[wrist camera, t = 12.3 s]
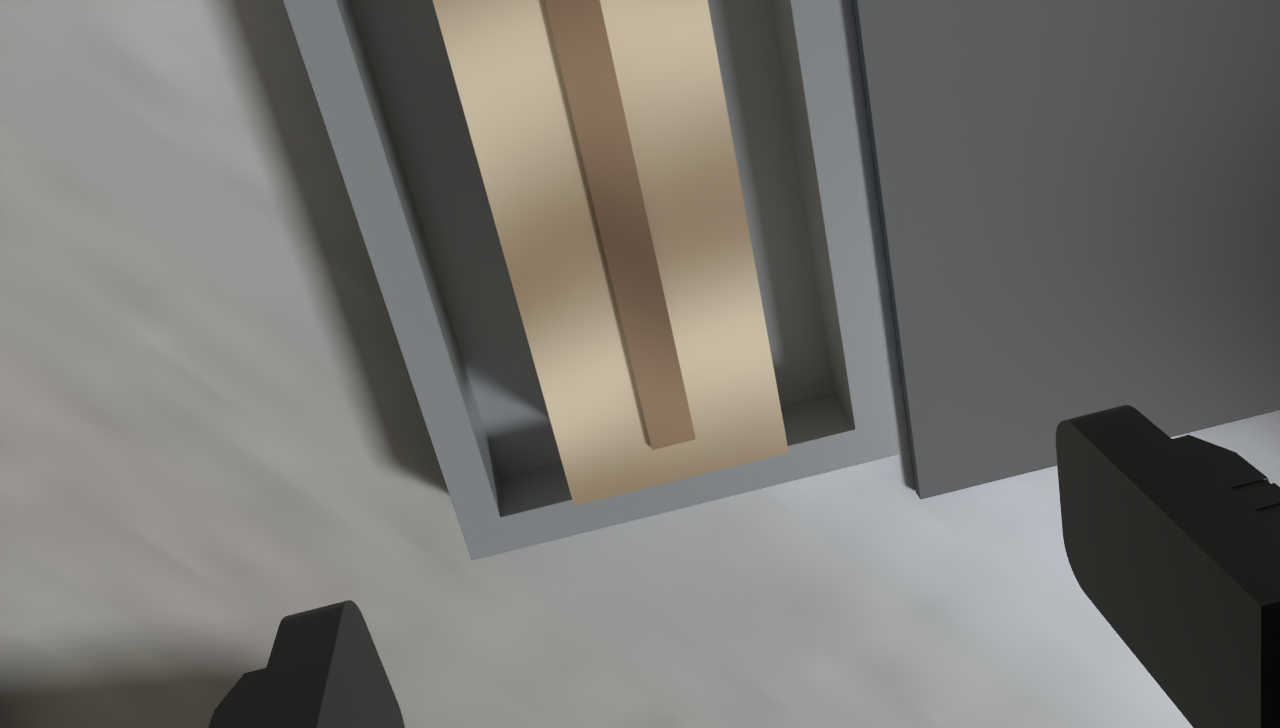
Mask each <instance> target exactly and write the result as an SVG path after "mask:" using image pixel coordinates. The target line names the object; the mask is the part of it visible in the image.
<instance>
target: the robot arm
mask: <svg viewBox="0 0 1280 728" xmlns="http://www.w3.org/2000/svg"><path fill="white" fill-rule="evenodd" d="M1056 454H1057V466H1058V478H1059V491H1060V503H1061V515H1062V527H1063V538H1064V544H1065V549H1066V553H1067V556H1068V560H1069V563H1070V565H1071V568H1072V571H1073V573H1074V575H1075V577H1076V579H1077V581H1078V583H1079V585H1080V587H1081V588H1082V590H1083V591H1084V593H1085V594H1086V595H1087V596H1088V598H1089V599H1090V600H1091V601H1092V603H1093V604H1094V605H1095V606H1096V608H1097V609H1098V610H1099V611H1100V613H1101V614H1102V615H1103V616H1104V617H1105V619H1106V620H1107V621H1108V622H1109V624H1110V625H1111V626H1112V627H1113V629H1114V630H1115V631H1116V632H1117V634H1118V635H1119V636H1120V637H1121V638H1122V640H1123V641H1124V642H1125V643H1126V645H1127V646H1128V647H1129V648H1130V650H1131V651H1132V652H1133V653H1134V655H1135V656H1136V657H1137V658H1138V659H1139V661H1140V662H1141V663H1142V664H1143V666H1144V667H1145V668H1146V669H1147V671H1148V672H1149V673H1150V674H1151V676H1152V677H1153V678H1154V679H1155V680H1156V682H1157V683H1158V684H1159V685H1160V687H1161V688H1162V689H1163V690H1164V692H1165V693H1166V694H1167V695H1168V697H1169V698H1170V699H1171V700H1172V701H1173V703H1174V704H1175V705H1176V706H1177V708H1178V709H1179V710H1180V711H1181V713H1182V714H1183V715H1184V716H1185V718H1186V719H1187V720H1188V721H1189V723H1190V724H1191V725H1192V726H1193V727H1194V728H1280V487H1279V486H1277V485H1276V484H1275V483H1273V484H1270V483H1269V481H1268V478H1267V477H1266V476H1265V475H1263V474H1262V473H1261V472H1260V471H1258V470H1257V469H1256V468H1255V467H1253V466H1252V465H1251V464H1249V463H1248V462H1247V461H1246V460H1244V459H1243V458H1242V457H1241V456H1239V455H1238V454H1237V453H1236V452H1233V451H1230V450H1228V449H1225V448H1222V447H1220V446H1217V445H1214V444H1212V443H1209V442H1206V441H1204V440H1201V439H1198V438H1196V437H1193V436H1190V435H1187V436H1183V437H1179V438H1175V439H1171V438H1170V437H1169V436H1168V435H1166V434H1165V433H1164V432H1163V431H1162V430H1160V429H1159V428H1158V427H1157V426H1156V425H1154V424H1153V423H1152V422H1151V421H1150V420H1149V419H1147V418H1146V417H1145V416H1144V415H1143V414H1141V413H1140V412H1139V411H1138V410H1137V409H1135V408H1134V407H1132V406H1130V405H1122V406H1119V407H1115V408H1111V409H1107V410H1103V411H1099V412H1095V413H1091V414H1087V415H1083V416H1079V417H1075V418H1071V419H1067V420H1063V421H1061V422H1060V423H1059V424H1058V426H1057V430H1056ZM209 728H405V727H404V722H403V718H402V714H401V711H400V708H399V705H398V702H397V700H396V697H395V695H394V692H393V690H392V687H391V685H390V682H389V680H388V677H387V675H386V672H385V670H384V667H383V665H382V663H381V660H380V658H379V655H378V653H377V650H376V648H375V645H374V643H373V640H372V638H371V635H370V633H369V630H368V628H367V625H366V623H365V620H364V618H363V616H362V613H361V612H360V610H359V608H358V607H357V605H356V604H355V603H354V602H353V601H351V600H348V601H344V602H340V603H336V604H332V605H328V606H324V607H320V608H317V609H313V610H309V611H305V612H301V613H297V614H293V615H289V616H286V617H284V618H283V619H282V621H281V623H280V625H279V628H278V632H277V635H276V638H275V641H274V645H273V648H272V651H271V655H270V658H269V661H268V664H267V668H264V669H260V670H256V671H252V672H248V673H244V675H243V676H242V677H241V678H240V680H239V681H238V682H237V683H236V685H235V686H234V687H233V688H232V689H231V691H230V692H229V693H228V694H227V696H226V697H225V698H224V699H223V701H222V702H221V703H220V704H219V706H218V707H217V708H216V709H215V710H214V713H213V716H212V719H211V722H210V725H209Z"/></svg>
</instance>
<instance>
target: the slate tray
mask: <svg viewBox="0 0 1280 728" xmlns="http://www.w3.org/2000/svg"><path fill="white" fill-rule="evenodd" d="M283 1H284V4H285V7H286V10H287V13H288V16H289V19H290V22H291V25H292V28H293V31H294V34H295V37H296V40H297V43H298V46H299V49H300V52H301V55H302V58H303V61H304V64H305V67H306V69H307V72H308V75H309V78H310V81H311V84H312V87H313V90H314V93H315V96H316V99H317V102H318V105H319V108H320V111H321V114H322V117H323V120H324V123H325V126H326V129H327V132H328V135H329V138H330V141H331V144H332V147H333V150H334V153H335V156H336V159H337V162H338V165H339V168H340V171H341V173H342V176H343V179H344V182H345V185H346V188H347V191H348V194H349V197H350V200H351V203H352V206H353V209H354V212H355V215H356V218H357V221H358V224H359V227H360V230H361V233H362V236H363V239H364V242H365V245H366V248H367V251H368V254H369V257H370V260H371V263H372V266H373V269H374V272H375V275H376V277H377V280H378V283H379V286H380V289H381V292H382V295H383V298H384V301H385V304H386V307H387V310H388V313H389V316H390V319H391V322H392V325H393V328H394V331H395V334H396V337H397V340H398V343H399V346H400V349H401V352H402V355H403V358H404V361H405V364H406V367H407V370H408V373H409V376H410V379H411V381H412V384H413V387H414V390H415V393H416V396H417V399H418V402H419V405H420V408H421V411H422V414H423V417H424V420H425V423H426V426H427V429H428V432H429V435H430V438H431V441H432V444H433V447H434V450H435V453H436V456H437V459H438V462H439V465H440V468H441V471H442V474H443V477H444V480H445V483H446V485H447V488H448V491H449V494H450V497H451V500H452V503H453V506H454V509H455V512H456V515H457V518H458V521H459V524H460V527H461V530H462V533H463V536H464V539H465V542H466V545H467V548H468V551H469V554H470V557H471V560H475V559H479V558H483V557H487V556H492V555H496V554H500V553H504V552H508V551H512V550H516V549H520V548H524V547H528V546H532V545H536V544H540V543H544V542H548V541H552V540H556V539H560V538H564V537H568V536H572V535H576V534H580V533H584V532H588V531H592V530H596V529H600V528H604V527H608V526H612V525H616V524H620V523H624V522H628V521H632V520H636V519H640V518H644V517H649V516H653V515H657V514H661V513H665V512H669V511H673V510H677V509H681V508H685V507H689V506H693V505H697V504H701V503H705V502H709V501H713V500H717V499H721V498H725V497H729V496H733V495H737V494H741V493H745V492H749V491H753V490H757V489H761V488H765V487H769V486H773V485H777V484H781V483H785V482H789V481H793V480H797V479H801V478H806V477H810V476H814V475H818V474H822V473H826V472H830V471H834V470H838V469H842V468H846V467H850V466H854V465H858V464H862V463H866V462H870V461H874V460H878V459H882V458H886V457H890V456H894V455H898V454H899V448H898V441H897V433H896V426H895V418H894V411H893V403H892V396H891V388H890V381H889V373H888V366H887V358H886V351H885V343H884V336H883V328H882V321H881V314H880V306H879V299H878V291H877V284H876V276H875V269H874V261H873V254H872V246H871V239H870V231H869V224H868V216H867V209H866V201H865V194H864V187H863V179H862V172H861V164H860V157H859V149H858V142H857V134H856V127H855V119H854V112H853V104H852V97H851V89H850V82H849V74H848V67H847V60H846V52H845V45H844V37H843V30H842V22H841V15H840V7H839V0H708V6H709V11H710V17H711V22H712V28H713V34H714V39H715V45H716V50H717V56H718V61H719V67H720V72H721V78H722V84H723V89H724V95H725V100H726V106H727V111H728V117H729V123H730V128H731V134H732V139H733V145H734V150H735V156H736V162H737V167H738V173H739V178H740V184H741V189H742V195H743V200H744V206H745V212H746V217H747V223H748V228H749V234H750V239H751V245H752V251H753V256H754V262H755V267H756V273H757V278H758V284H759V289H760V295H761V301H762V306H763V312H764V317H765V323H766V328H767V334H768V340H769V345H770V351H771V356H772V362H773V367H774V373H775V378H776V384H777V390H778V395H779V401H780V406H781V412H782V417H783V423H784V429H785V434H786V440H787V445H788V451H789V453H787V454H783V455H779V456H775V457H771V458H767V459H763V460H759V461H755V462H751V463H747V464H743V465H739V466H735V467H731V468H727V469H722V470H718V471H714V472H710V473H706V474H702V475H698V476H694V477H690V478H686V479H682V480H678V481H674V482H670V483H666V484H662V485H658V486H653V487H649V488H645V489H641V490H637V491H633V492H629V493H625V494H621V495H617V496H613V497H609V498H605V499H601V500H597V501H593V502H588V503H584V504H580V505H576V506H574V504H573V500H572V496H571V493H570V489H569V486H568V482H567V479H566V475H565V471H564V468H563V464H562V461H561V457H560V454H559V450H558V446H557V443H556V439H555V436H554V432H553V429H552V425H551V421H550V418H549V414H548V411H547V407H546V404H545V400H544V396H543V393H542V389H541V386H540V382H539V379H538V375H537V371H536V368H535V364H534V361H533V357H532V354H531V350H530V346H529V343H528V339H527V336H526V332H525V329H524V325H523V321H522V318H521V314H520V311H519V307H518V304H517V300H516V296H515V293H514V289H513V286H512V282H511V279H510V275H509V271H508V268H507V264H506V261H505V257H504V254H503V250H502V246H501V243H500V239H499V236H498V232H497V229H496V225H495V221H494V218H493V214H492V211H491V207H490V204H489V200H488V196H487V193H486V189H485V186H484V182H483V179H482V175H481V171H480V168H479V164H478V161H477V157H476V154H475V150H474V146H473V143H472V139H471V136H470V132H469V129H468V125H467V121H466V118H465V114H464V111H463V107H462V104H461V100H460V96H459V93H458V89H457V86H456V82H455V79H454V75H453V71H452V68H451V64H450V61H449V57H448V54H447V50H446V46H445V43H444V39H443V36H442V32H441V29H440V25H439V21H438V18H437V14H436V11H435V7H434V4H433V0H283Z"/></svg>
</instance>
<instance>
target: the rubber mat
mask: <svg viewBox="0 0 1280 728" xmlns="http://www.w3.org/2000/svg"><path fill="white" fill-rule="evenodd" d="M853 8H854V16H855V23H856V31H857V39H858V47H859V54H860V62H861V70H862V78H863V86H864V93H865V101H866V109H867V117H868V124H869V132H870V140H871V148H872V155H873V163H874V171H875V179H876V186H877V194H878V202H879V210H880V218H881V225H882V233H883V241H884V249H885V256H886V264H887V272H888V280H889V287H890V295H891V303H892V311H893V319H894V326H895V334H896V342H897V350H898V357H899V365H900V373H901V381H902V388H903V396H904V404H905V412H906V419H907V427H908V435H909V443H910V451H911V458H912V466H913V474H914V482H915V489H916V493H917V495H918V496H919V498H920V499H924V498H928V497H932V496H936V495H940V494H944V493H948V492H952V491H956V490H960V489H964V488H968V487H972V486H976V485H980V484H984V483H988V482H992V481H996V480H1000V479H1004V478H1008V477H1012V476H1016V475H1020V474H1024V473H1028V472H1032V471H1036V470H1040V469H1044V468H1049V467H1053V466H1057V454H1056V430H1057V426H1058V424H1059V423H1060V422H1061V421H1063V420H1067V419H1071V418H1075V417H1079V416H1083V415H1087V414H1091V413H1095V412H1099V411H1103V410H1107V409H1111V408H1115V407H1119V406H1122V405H1130V406H1132V407H1134V408H1135V409H1137V410H1138V411H1139V412H1140V413H1141V414H1143V415H1144V416H1145V417H1146V418H1147V419H1149V420H1150V421H1151V422H1152V423H1153V424H1154V425H1156V426H1157V427H1158V428H1159V429H1160V430H1162V431H1163V432H1164V433H1165V434H1166V435H1168V436H1169V437H1173V436H1177V435H1181V434H1185V433H1189V432H1193V431H1197V430H1201V429H1205V428H1209V427H1213V426H1217V425H1221V424H1225V423H1229V422H1233V421H1237V420H1241V419H1245V418H1249V417H1253V416H1257V415H1261V414H1265V413H1269V412H1273V411H1277V410H1280V0H853Z"/></svg>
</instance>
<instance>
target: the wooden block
mask: <svg viewBox="0 0 1280 728" xmlns="http://www.w3.org/2000/svg"><path fill="white" fill-rule="evenodd" d="M433 4H434V7H435V11H436V14H437V18H438V21H439V25H440V29H441V32H442V36H443V39H444V43H445V46H446V50H447V54H448V57H449V61H450V64H451V68H452V71H453V75H454V79H455V82H456V86H457V89H458V93H459V96H460V100H461V104H462V107H463V111H464V114H465V118H466V121H467V125H468V129H469V132H470V136H471V139H472V143H473V146H474V150H475V154H476V157H477V161H478V164H479V168H480V171H481V175H482V179H483V182H484V186H485V189H486V193H487V196H488V200H489V204H490V207H491V211H492V214H493V218H494V221H495V225H496V229H497V232H498V236H499V239H500V243H501V246H502V250H503V254H504V257H505V261H506V264H507V268H508V271H509V275H510V279H511V282H512V286H513V289H514V293H515V296H516V300H517V304H518V307H519V311H520V314H521V318H522V321H523V325H524V329H525V332H526V336H527V339H528V343H529V346H530V350H531V354H532V357H533V361H534V364H535V368H536V371H537V375H538V379H539V382H540V386H541V389H542V393H543V396H544V400H545V404H546V407H547V411H548V414H549V418H550V421H551V425H552V429H553V432H554V436H555V439H556V443H557V446H558V450H559V454H560V457H561V461H562V464H563V468H564V471H565V475H566V479H567V482H568V486H569V489H570V493H571V496H572V500H573V504H574V506H576V505H580V504H584V503H588V502H593V501H597V500H601V499H605V498H609V497H613V496H617V495H621V494H625V493H629V492H633V491H637V490H641V489H645V488H649V487H653V486H658V485H662V484H666V483H670V482H674V481H678V480H682V479H686V478H690V477H694V476H698V475H702V474H706V473H710V472H714V471H718V470H722V469H727V468H731V467H735V466H739V465H743V464H747V463H751V462H755V461H759V460H763V459H767V458H771V457H775V456H779V455H783V454H787V453H789V451H788V445H787V440H786V434H785V429H784V423H783V417H782V412H781V406H780V401H779V395H778V390H777V384H776V378H775V373H774V367H773V362H772V356H771V351H770V345H769V340H768V334H767V328H766V323H765V317H764V312H763V306H762V301H761V295H760V289H759V284H758V278H757V273H756V267H755V262H754V256H753V251H752V245H751V239H750V234H749V228H748V223H747V217H746V212H745V206H744V200H743V195H742V189H741V184H740V178H739V173H738V167H737V162H736V156H735V150H734V145H733V139H732V134H731V128H730V123H729V117H728V111H727V106H726V100H725V95H724V89H723V84H722V78H721V72H720V67H719V61H718V56H717V50H716V45H715V39H714V34H713V28H712V22H711V17H710V11H709V6H708V0H433Z"/></svg>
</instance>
